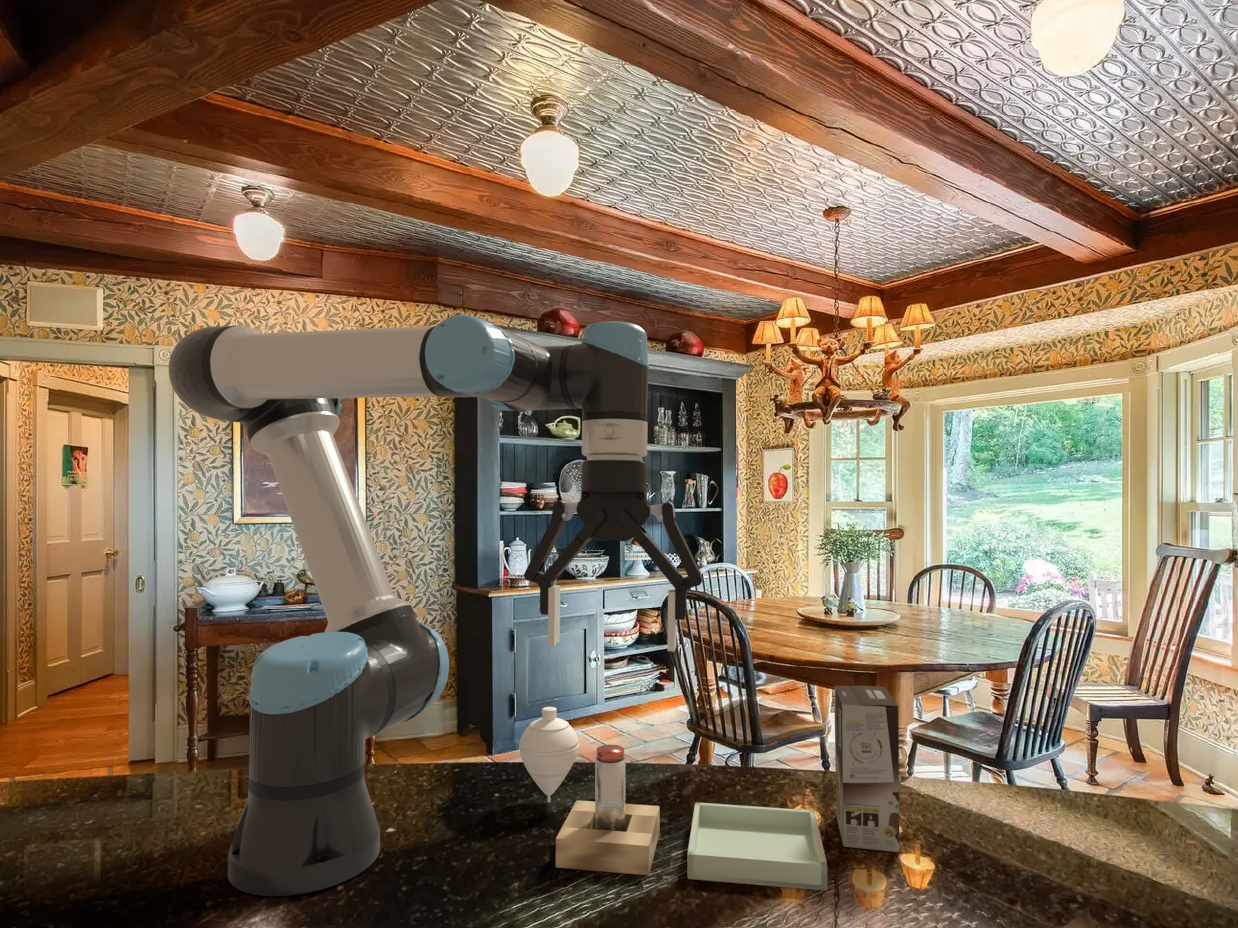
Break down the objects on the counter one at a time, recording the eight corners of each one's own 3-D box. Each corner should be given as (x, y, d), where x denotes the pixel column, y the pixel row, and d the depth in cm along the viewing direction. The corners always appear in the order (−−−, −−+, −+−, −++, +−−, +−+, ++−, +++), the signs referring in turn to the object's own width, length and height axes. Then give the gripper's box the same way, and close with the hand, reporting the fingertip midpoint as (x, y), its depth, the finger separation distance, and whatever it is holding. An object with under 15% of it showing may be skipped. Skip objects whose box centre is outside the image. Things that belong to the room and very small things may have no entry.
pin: (592, 854, 81) (592, 753, 82) (598, 840, 84) (598, 743, 85) (622, 857, 81) (622, 755, 81) (627, 842, 84) (627, 744, 84)
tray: (687, 878, 76) (687, 853, 76) (695, 823, 89) (695, 802, 89) (827, 890, 74) (827, 865, 74) (814, 832, 87) (814, 810, 87)
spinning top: (533, 820, 90) (533, 720, 90) (509, 797, 96) (510, 704, 97) (589, 806, 94) (589, 711, 94) (562, 786, 100) (563, 696, 101)
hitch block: (555, 867, 78) (555, 838, 78) (576, 825, 88) (576, 800, 88) (649, 875, 77) (649, 845, 77) (659, 831, 87) (659, 805, 87)
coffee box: (902, 853, 81) (900, 705, 82) (841, 847, 83) (840, 702, 83) (889, 818, 90) (887, 685, 91) (834, 813, 92) (833, 682, 92)
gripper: (499, 457, 83) (495, 647, 82) (723, 458, 79) (722, 658, 78) (518, 460, 90) (515, 635, 89) (724, 461, 86) (723, 644, 85)
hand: (612, 646), depth 84 cm, fingers open, 13 cm apart
